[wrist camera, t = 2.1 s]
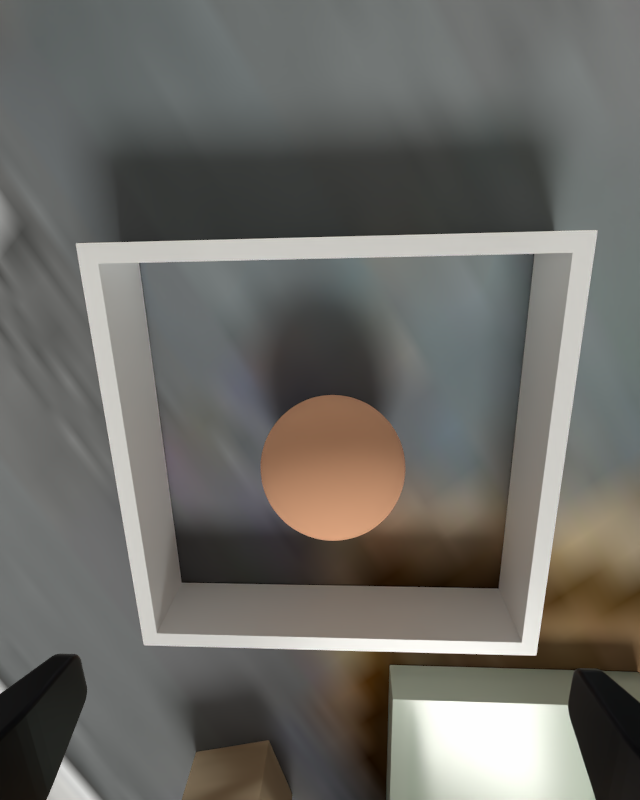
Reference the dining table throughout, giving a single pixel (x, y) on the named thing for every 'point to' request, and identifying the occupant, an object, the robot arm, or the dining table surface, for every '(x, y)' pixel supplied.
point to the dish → (485, 734)
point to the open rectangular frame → (329, 604)
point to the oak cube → (237, 774)
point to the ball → (332, 467)
